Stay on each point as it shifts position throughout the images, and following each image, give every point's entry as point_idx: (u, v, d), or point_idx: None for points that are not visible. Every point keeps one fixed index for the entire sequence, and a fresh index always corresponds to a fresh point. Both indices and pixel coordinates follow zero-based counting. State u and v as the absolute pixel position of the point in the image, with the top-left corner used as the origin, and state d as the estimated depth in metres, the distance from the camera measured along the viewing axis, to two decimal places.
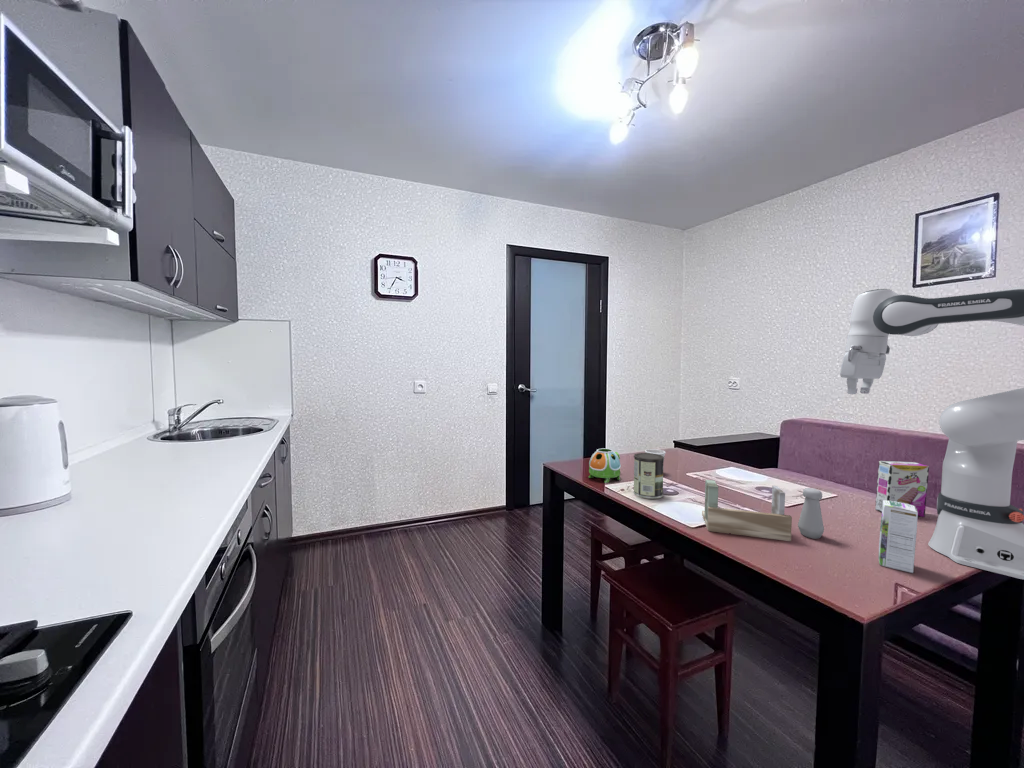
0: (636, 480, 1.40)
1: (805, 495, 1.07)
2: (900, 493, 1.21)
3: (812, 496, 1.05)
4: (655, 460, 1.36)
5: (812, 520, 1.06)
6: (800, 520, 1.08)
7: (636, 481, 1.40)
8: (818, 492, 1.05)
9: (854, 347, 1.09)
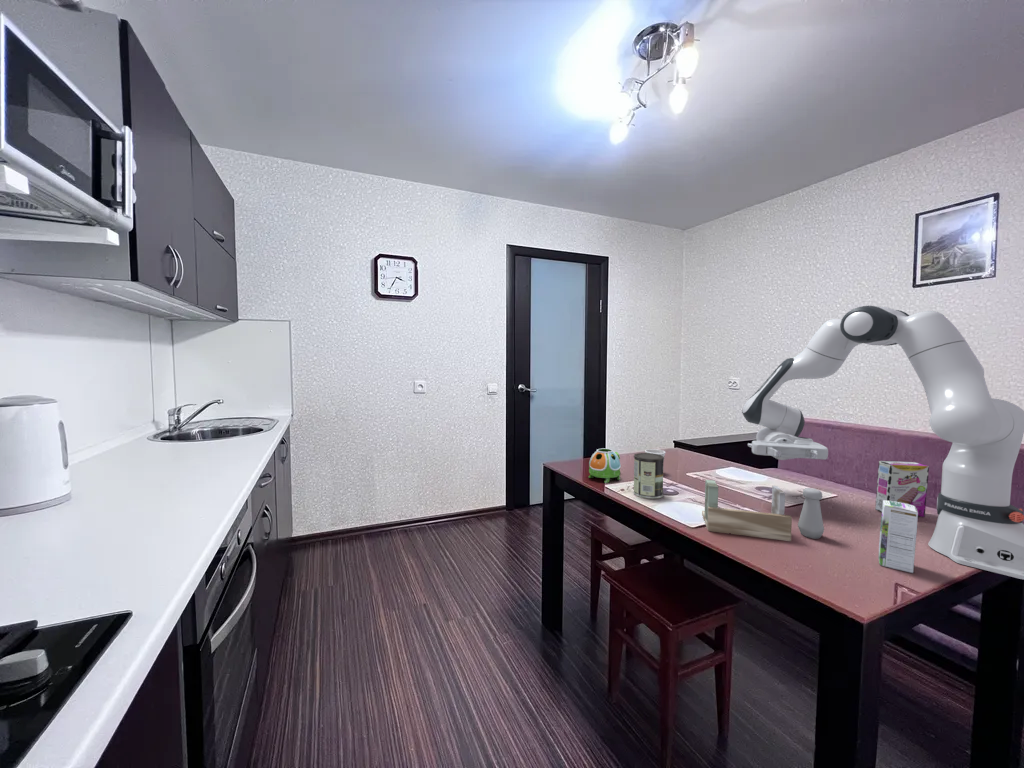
0: (636, 480, 1.40)
1: (805, 495, 1.07)
2: (900, 493, 1.21)
3: (812, 496, 1.05)
4: (655, 460, 1.36)
5: (812, 520, 1.06)
6: (800, 520, 1.08)
7: (636, 481, 1.40)
8: (818, 492, 1.05)
9: (751, 443, 1.34)
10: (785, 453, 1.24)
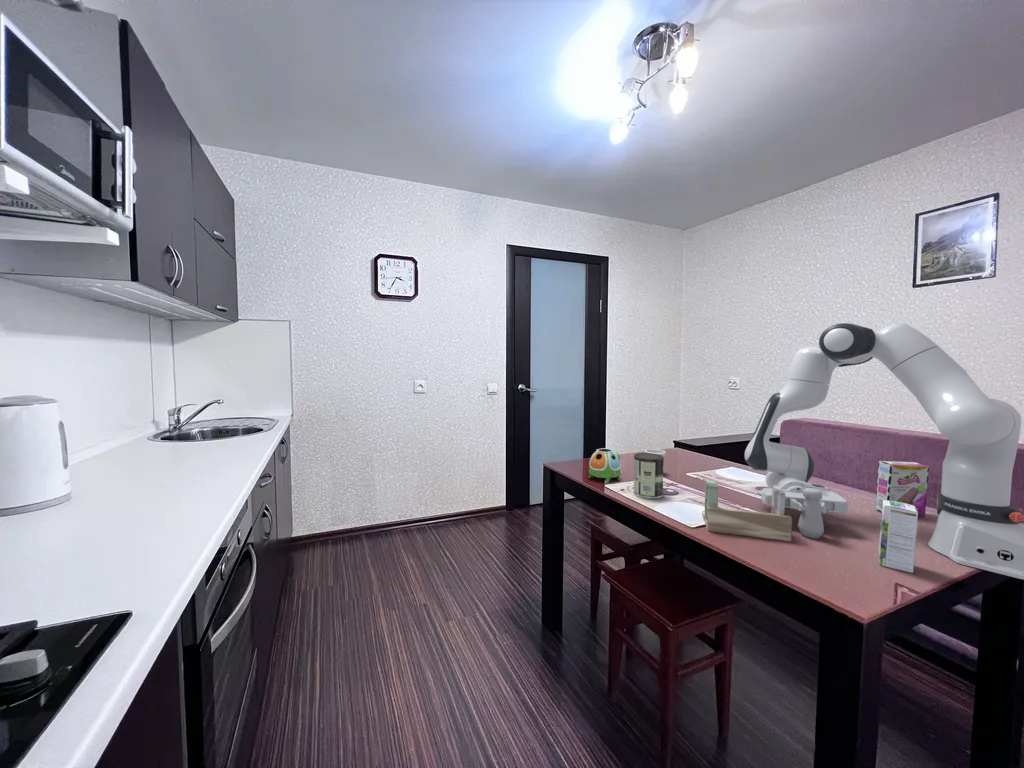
0: (636, 480, 1.40)
1: (805, 495, 1.07)
2: (900, 493, 1.22)
3: (812, 496, 1.05)
4: (655, 460, 1.36)
5: (812, 520, 1.06)
6: (800, 520, 1.08)
7: (636, 481, 1.40)
8: (818, 492, 1.05)
9: (762, 490, 1.22)
10: None
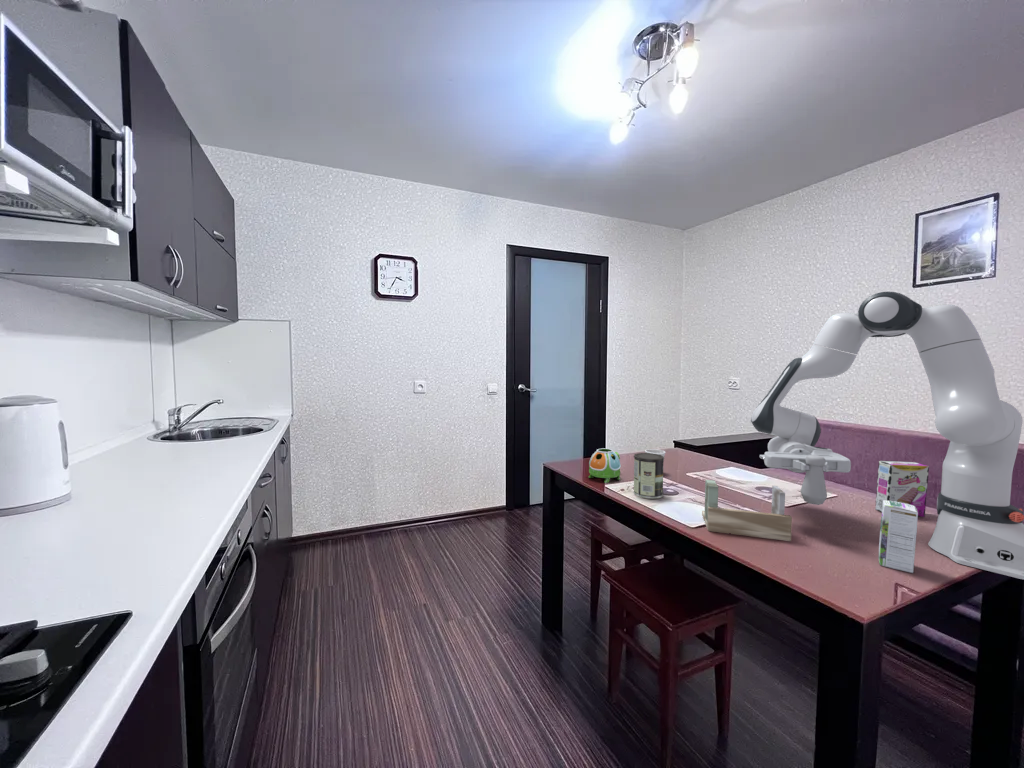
0: (636, 480, 1.40)
1: (809, 462, 1.06)
2: (900, 493, 1.22)
3: (817, 462, 1.04)
4: (655, 460, 1.36)
5: (817, 487, 1.05)
6: (804, 487, 1.07)
7: (636, 481, 1.40)
8: (822, 458, 1.05)
9: None
10: None
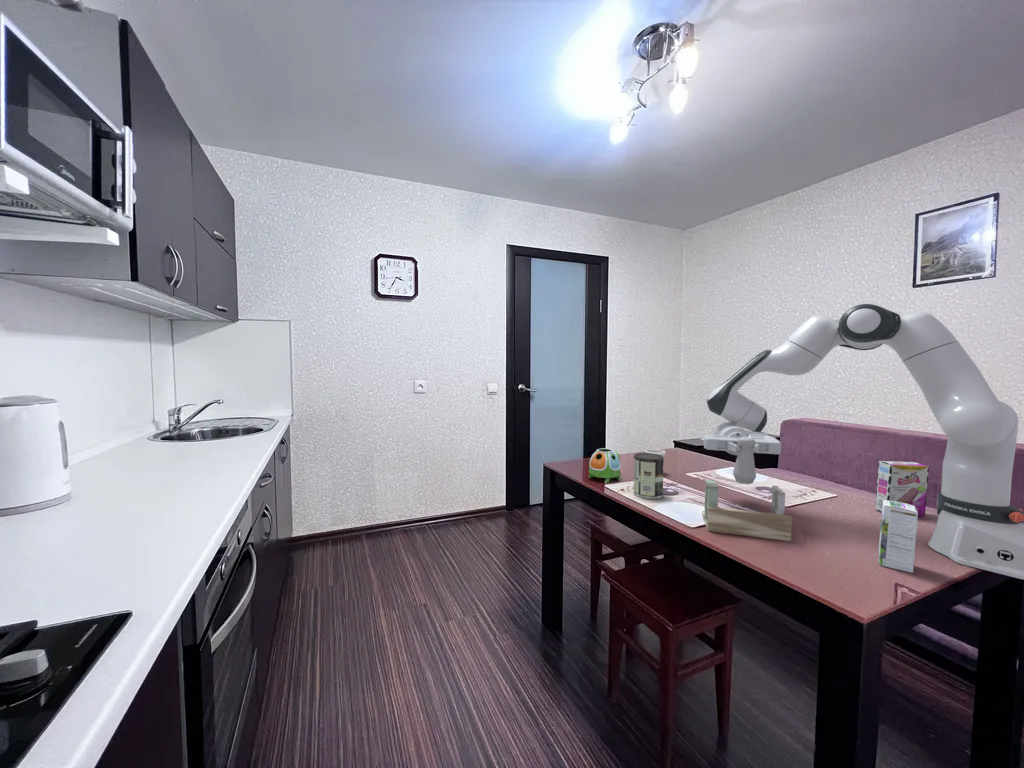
0: (636, 480, 1.40)
1: (740, 443, 1.11)
2: (900, 493, 1.22)
3: (746, 444, 1.10)
4: (655, 460, 1.36)
5: (746, 467, 1.10)
6: (735, 468, 1.13)
7: (636, 481, 1.40)
8: (751, 440, 1.10)
9: None
10: None
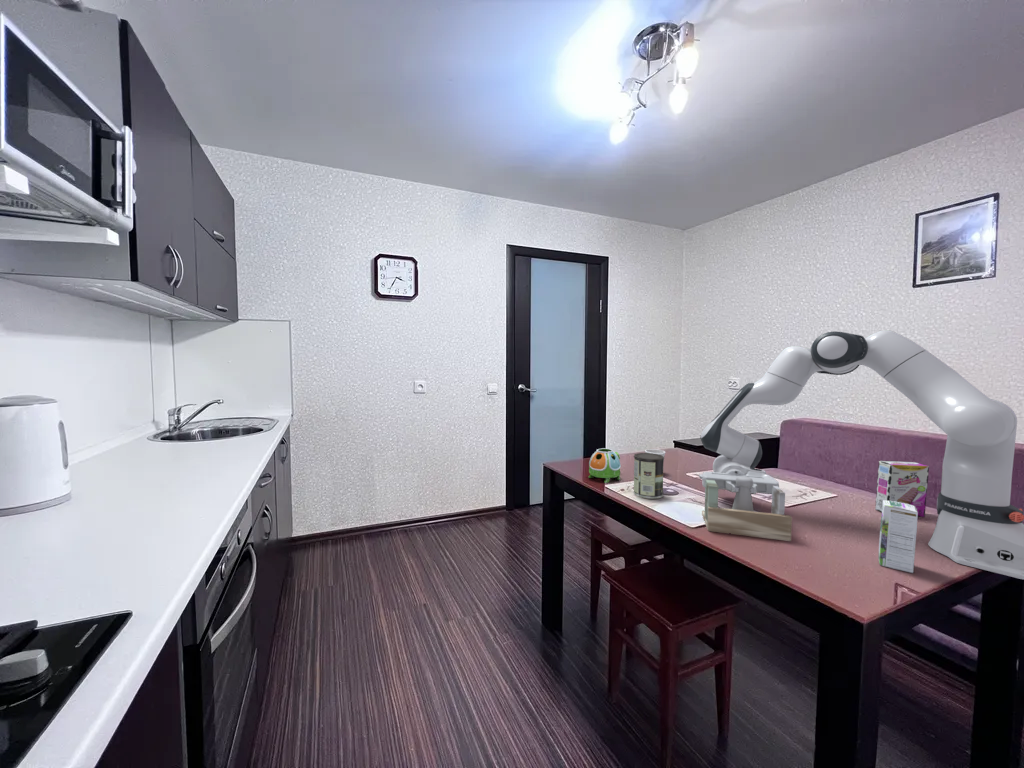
0: (636, 480, 1.40)
1: (738, 483, 1.12)
2: (900, 493, 1.21)
3: (744, 484, 1.10)
4: (655, 460, 1.36)
5: (744, 507, 1.11)
6: (733, 507, 1.13)
7: (636, 481, 1.40)
8: (749, 480, 1.11)
9: None
10: None
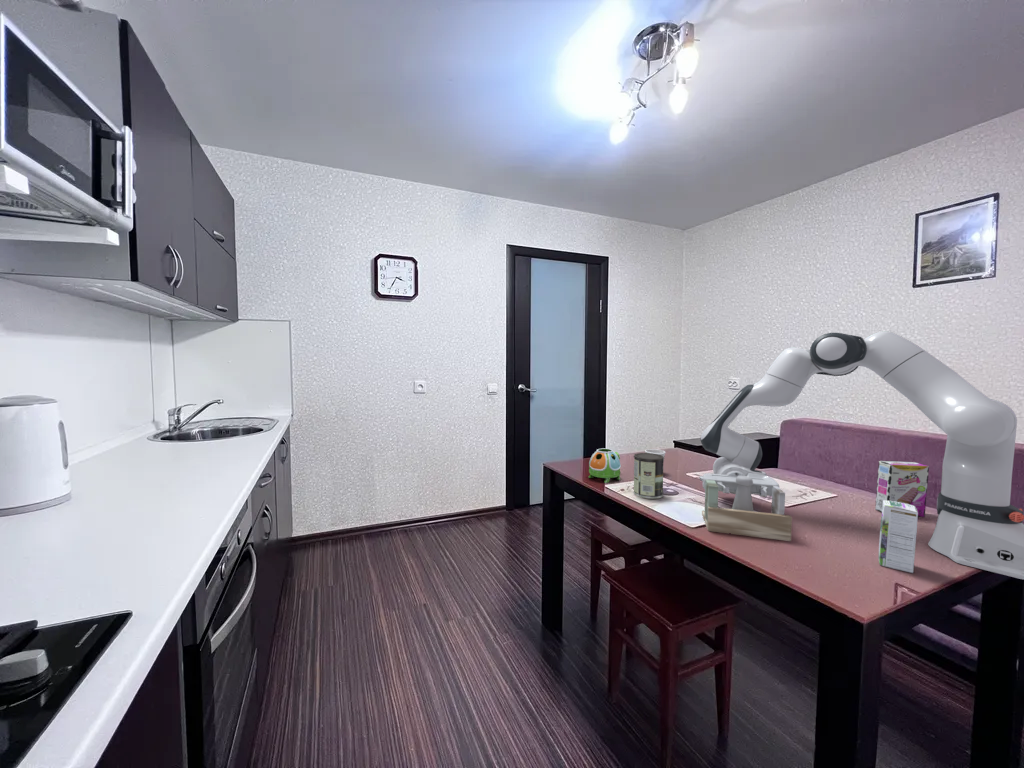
0: (636, 480, 1.40)
1: (738, 482, 1.12)
2: (900, 493, 1.22)
3: (744, 483, 1.11)
4: (655, 460, 1.36)
5: (744, 506, 1.11)
6: (733, 507, 1.14)
7: (636, 481, 1.40)
8: (749, 479, 1.11)
9: None
10: (735, 489, 1.17)
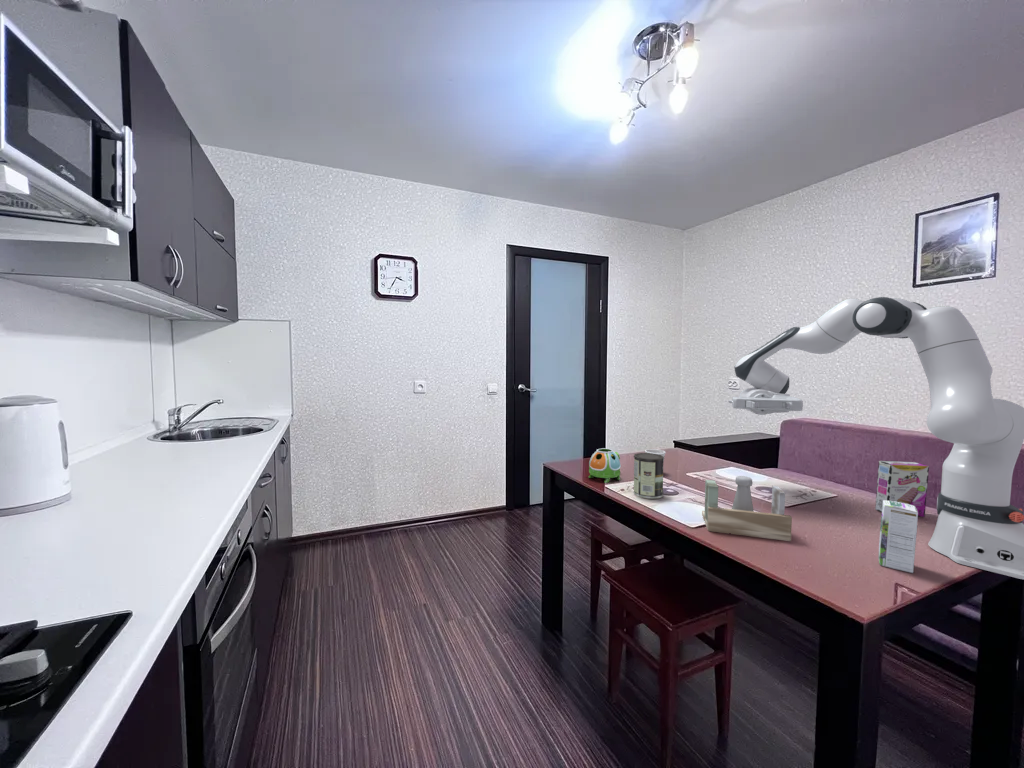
0: (636, 480, 1.40)
1: (738, 483, 1.12)
2: (900, 493, 1.22)
3: (744, 483, 1.11)
4: (655, 460, 1.36)
5: (744, 506, 1.11)
6: (733, 507, 1.14)
7: (636, 481, 1.40)
8: (749, 479, 1.11)
9: (732, 400, 1.40)
10: (763, 406, 1.31)
